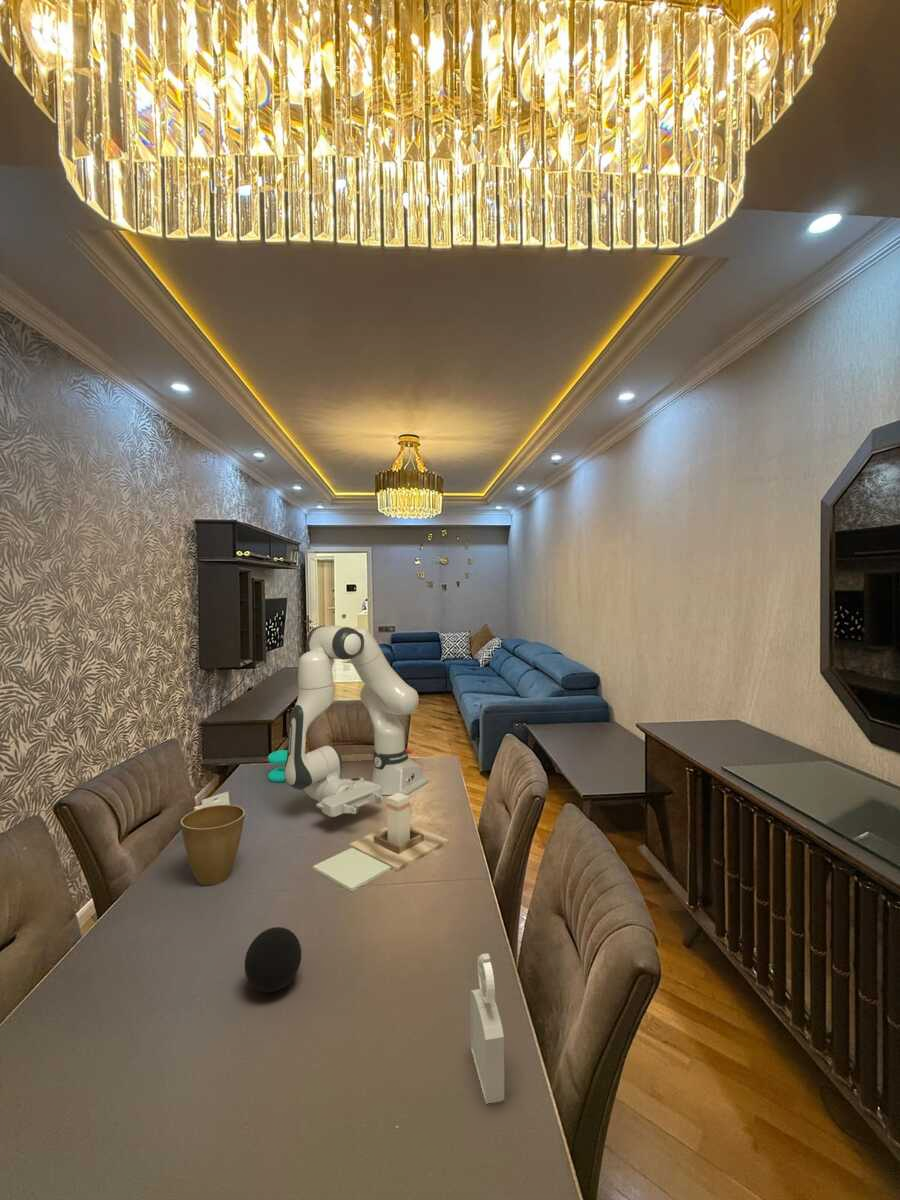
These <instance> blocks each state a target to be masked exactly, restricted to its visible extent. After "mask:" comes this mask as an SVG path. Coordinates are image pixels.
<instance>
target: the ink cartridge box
mask: <svg viewBox="0 0 900 1200" xmlns="http://www.w3.org/2000/svg"><path fill="white" fill-rule="evenodd" d="M215 805H231V801H230V795H229V791H225V792H222V793H218V794H216V795H213V796H210V797H207V798H204V799H202V800H201V805H198V806H194V807H193V811H195V810H198V809H201V808H205V807H209V806H215Z"/></svg>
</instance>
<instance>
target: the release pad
mask: <svg viewBox="0 0 900 1200" xmlns="http://www.w3.org/2000/svg"><path fill="white" fill-rule="evenodd" d="M312 870H314V871H315V872H317V873H318V874H319V875H321V876H323V877H325V878H327V879H329V880H330V881H332V882H333V883H336V884H337V885H339V886H340V887H343V888H344V889H346V890H347V891H349V890H350V892H351V891H352V892H354V891H355V890H357V889H359V888H361V887H363V886H364V885H366V884H368V883H370V882H371V881H373V880H376V879H377V878H378V877H381V876H382V875H384V874H386V873H388V872H390V871H391V870H392V869H391V867H390V866H388V865H386V864H384V863H382V862H380V861H378V860H376V859H374V858H372V857H370V856H368V855H366V854H364V853H362V852H360V851H358V850H356V849H354V848H349V849H348V848H347V849H346V850H344V851H342V852H339V853H337V854H335V855H333V856H331V857H329V858H327V859H324V860H323V861H321V862H318V863H316V864H315V865H312ZM362 885H363V886H362ZM360 886H361V887H360ZM358 887H359V888H358ZM353 890H354V891H353Z"/></svg>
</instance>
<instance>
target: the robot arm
mask: <svg viewBox="0 0 900 1200" xmlns="http://www.w3.org/2000/svg"><path fill="white" fill-rule="evenodd" d="M305 641H306V642H305V643H306V644H305V653H303V654H301V656H300V657H299V661H298V668H297V669H298V670H297V680H298V681H297V682H298V683H297V685H298V695H297V700H296V703H295V705H294V706H293V708H292V709H291V710H290V715H289V725H288V737H287V739H288V740H287V750H288V751H287V760H286V764H284V767H285V769H284V776H285V780H286V781H285V782H286V783H287V785H289V786H290V787H291V788H293V789H295V790H300V791H303V790H304V792H305V793H306V795H308V796H309V797H310V798H312V799H313V800H314V801H316V802H317V803H316V804H315V807H316V808H317V809H319V810H321V812H322V813H323V814H324V815H326V816H328V817H330V818H336V817H337V816H340V815H343V814H353V815H356V814H358V813H359V812H360V811H359V808H361V807H362V806H365V805H368V804H369V803H370V804H371V803H373V802H375V804H377V805H379V804H382V803H383V802H384V801H383V799H384V798H383V796H384V795H385V796H391V795H394V794H396V793H401V794H404V795H409V794H411V793H412V792H414V791H415V790H417V789H419V788H420V787H423V785H426V783H428V782H429V778H428V777H427V776H425V775H423V771H422V767H421V765H420V764H419V763H417V762H416V761H414V760H413V759H412V758H410V757H409V755H413V753H414V749H413V748H410V747H408V748H407V747H405V745H406V744H405V740H406V739H405V738H406V737H405V728H404V725H403V724H402V723H401V721H400V720H399V719H398V717H397V716H406V715H411V714H413V713H415V711H416V710H417V708H418V706H419V699H420V698H419V697H420V696H419V694H418V692H417V690H416V689H415V688H413V687H411V686H410V685H409V684H407V683H406V682H405V681H404V679H402V678H401V677H400V675H398V674H399V673H397V672H396V671H395V670H394V669H393V668H392V666H391V665H390V663H389V662H388V660H387V658H386V656H385V655H384V652H383V651H382V649H381V647H380V645H379V644H378V642H377V640H376V639H375V638H374V636H373V635H372V633H371V632H370V631H369V630H368V629H367V628H366V627H363V626H359V627H357V626H356V627H354V628H353V627H350V626H349V627H348V626H341V625H319V626H315V627H314V628H312V629H311V630H310V631H309V632H308V634H307V637H306V640H305ZM335 660H344V661H346V660H350V663H351V664H352V665H353V667H354V669H355V671H356V673H357V674H358V676H359V678H360V681H362V683H364V685H363V686H362V688H361V690H360V695H359V696H360V701H361V703H362V704H363V705H364V707H365V708H366V710H367V712H368V713H369V717H370V720H371V724H372V727H373V739H374V740H373V741H374V743H373V744H374V745H373V747H374V749H373V753H372V754H373V755H372V756H373V772H372V779H371V781H369V780H365V779H364V778H365V777H364V778H363V777H354V778H341V776H342V771H343V770H342V768H343V760H342V759H343V758H342V756H341V755H342V754H340V752H339V751H338V750H337V749H336V748H335V747H334V746H332V745H328V744H327V745H324V746H321V747H318V748H316V749H313V750H311V751H309V752H306V743H307V732H308V729H309V727H310V726H311V724H312V723H313V722H314V721H315V720H316V719H317V718H318V717H319V716H321V715H322V714H323V713H324V712H326V711H327V710H328V709H330V707H331V705H332V703H333V702H334V699H335V684H334V683H335V682H334V675H333V666H334V664H335V662H336V661H335ZM408 754H409V755H408Z"/></svg>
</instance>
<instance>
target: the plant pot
mask: <svg viewBox="0 0 900 1200" xmlns="http://www.w3.org/2000/svg"><path fill="white" fill-rule="evenodd" d="M245 812H246V810H245V809H244V808H243V807H241V806H238V805H232V804H230V805H215V806H209V807H205V808H201V809H198V810H195V811H194V810H193V811H191V812H189V813H187V814H185V816H183V817H182V818H181V820H180V826H181V827H180V828H181V833H182V839H183V843H184V848H185V851H186V855H187V859H188V862H189V864H190V867H191V871H192V873H193V875H194V876H195V879H196V881H197V883H198V884H200V885H202V886H214V885H218V884H220V883H222V882H224V881H226V880H227V879H228V878H229V876H230V874H231V871H232V869H233V865H234V862H235V860H236V857H237V854H238V853H237V852H238V850H239V845H240V841H241V837H242V832H243V826H244V820H245V814H246V813H245Z"/></svg>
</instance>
